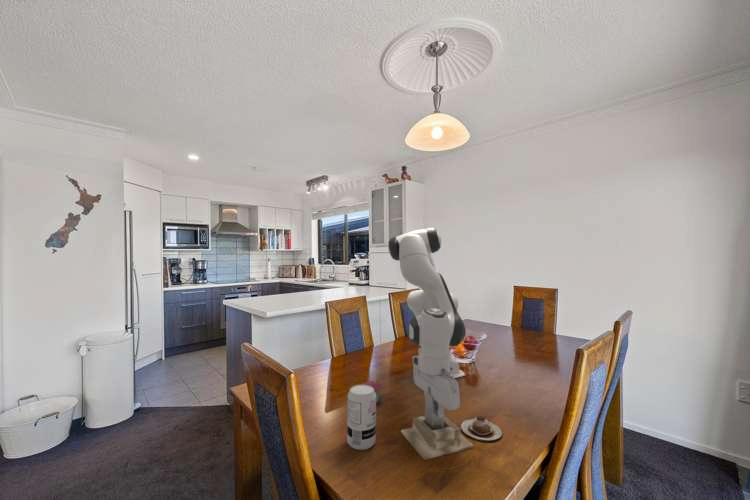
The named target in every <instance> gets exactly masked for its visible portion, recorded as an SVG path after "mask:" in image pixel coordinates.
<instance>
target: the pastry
mask: <svg viewBox="0 0 750 500" xmlns="http://www.w3.org/2000/svg"><path fill="white" fill-rule="evenodd" d="M469 429H470V430H471V431H472V432H473V433H475V434H476V435H478V436H475V435H473V434H472V433H471V432H469V431H468V430H469ZM460 430H461V431H462V432H463V433H464V434H465V435H466V436H469V437H471V439H475V440H477V441H481V442H490V441H496V440H498V439H500V438H501V437H502V434H503V432H502V430H501V428H500V427H499V426H497V425H496V424H495V423H492V422H491V421H488V419H486V416H484V415H481V414H479V415H477V416H476V417H475V418H474V419H473V418H472V419H471V418H470V419H466V420H464V421H463V422H461V424H460ZM492 432H493V433H494V435H493V436H491V437H487V438H486V437H481V436H487V435H489V434H491V433H492ZM479 436H480V437H479Z"/></svg>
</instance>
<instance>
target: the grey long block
mask: <svg viewBox="0 0 750 500" xmlns="http://www.w3.org/2000/svg"><path fill="white" fill-rule="evenodd" d="M430 391H431V388H430V387H428V393H427V392H426V391H425V396H424V416H425V424H426V425H427V426H428V427H429V428H430V429H431V430H432V431H433V430H438V429H442V428H444V417H441V418H439V417H438V416H437V415H436V409H438V407H439V406H438V402H437V401H435V400H434V399H433V396H431V395H430Z"/></svg>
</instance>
